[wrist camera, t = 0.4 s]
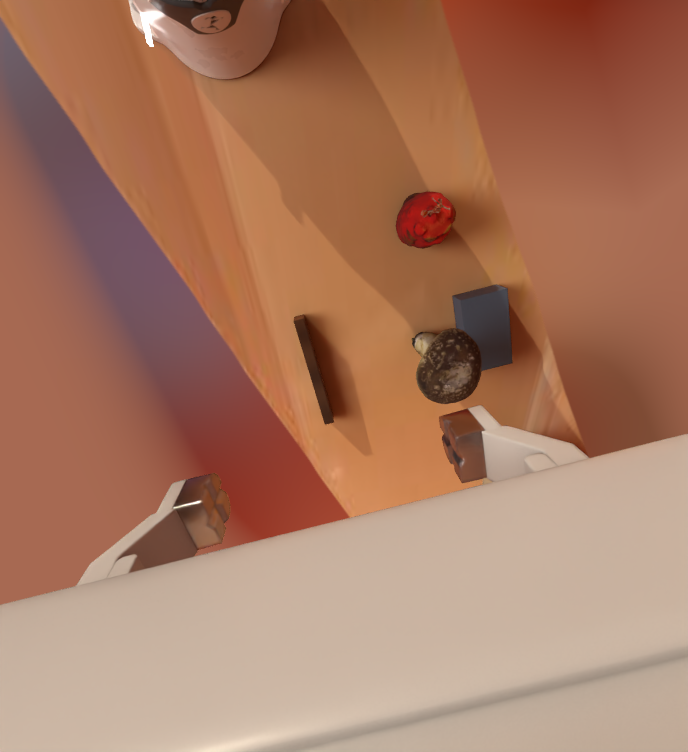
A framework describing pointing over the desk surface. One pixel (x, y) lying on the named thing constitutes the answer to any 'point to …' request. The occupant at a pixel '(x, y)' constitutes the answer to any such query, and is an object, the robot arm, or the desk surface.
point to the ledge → (313, 368)
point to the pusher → (486, 323)
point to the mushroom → (447, 365)
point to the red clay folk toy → (425, 219)
